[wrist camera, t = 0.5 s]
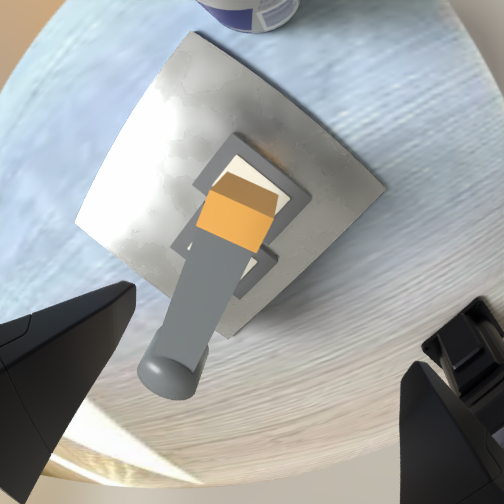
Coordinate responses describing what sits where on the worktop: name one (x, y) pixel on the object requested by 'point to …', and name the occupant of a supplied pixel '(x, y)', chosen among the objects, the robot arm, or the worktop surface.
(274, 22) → the energy drink
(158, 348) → the swing arm
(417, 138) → the worktop surface
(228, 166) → the label tile
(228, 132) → the plate
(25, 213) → the worktop surface
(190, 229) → the label tile
